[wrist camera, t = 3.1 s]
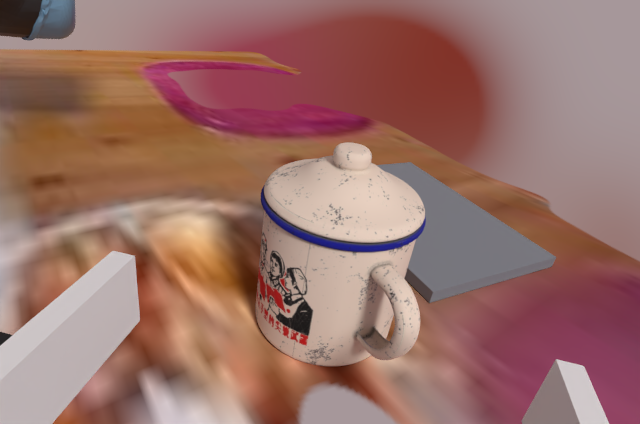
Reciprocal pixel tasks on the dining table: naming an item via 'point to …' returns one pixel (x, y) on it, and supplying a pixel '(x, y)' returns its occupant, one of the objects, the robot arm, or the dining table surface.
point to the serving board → (462, 242)
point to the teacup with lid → (338, 259)
